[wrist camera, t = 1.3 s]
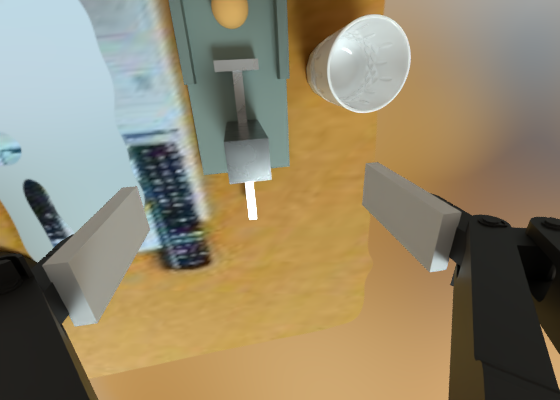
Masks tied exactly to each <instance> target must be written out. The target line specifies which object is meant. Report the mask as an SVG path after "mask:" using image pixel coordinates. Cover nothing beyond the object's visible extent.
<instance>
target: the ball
mask: <svg viewBox="0 0 560 400" xmlns="http://www.w3.org/2000/svg"><path fill="white" fill-rule="evenodd" d="M211 8H212V12H213V15H214V17H215V19H216V20H217V22H218V23H219V24H220V25H222V26H223V27H225V28H228V29H236V28H238V27H240V26H241V25H243V23H244V22H245V20H246V18H247V16H248V2H247V0H211Z"/></svg>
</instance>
